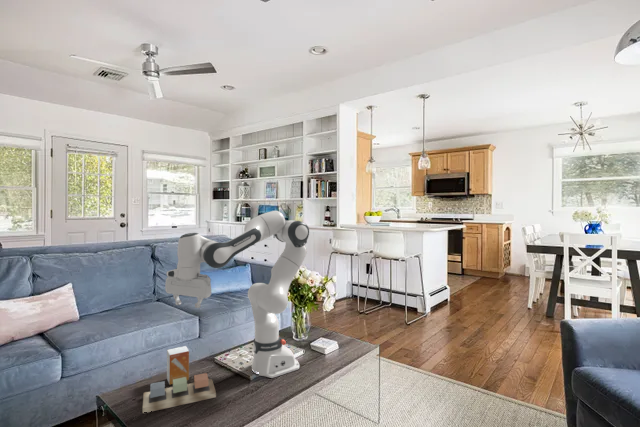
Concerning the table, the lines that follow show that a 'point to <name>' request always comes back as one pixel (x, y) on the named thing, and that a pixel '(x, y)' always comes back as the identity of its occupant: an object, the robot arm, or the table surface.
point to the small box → (177, 363)
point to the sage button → (179, 385)
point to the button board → (178, 397)
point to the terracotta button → (201, 380)
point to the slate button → (157, 389)
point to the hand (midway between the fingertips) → (187, 306)
